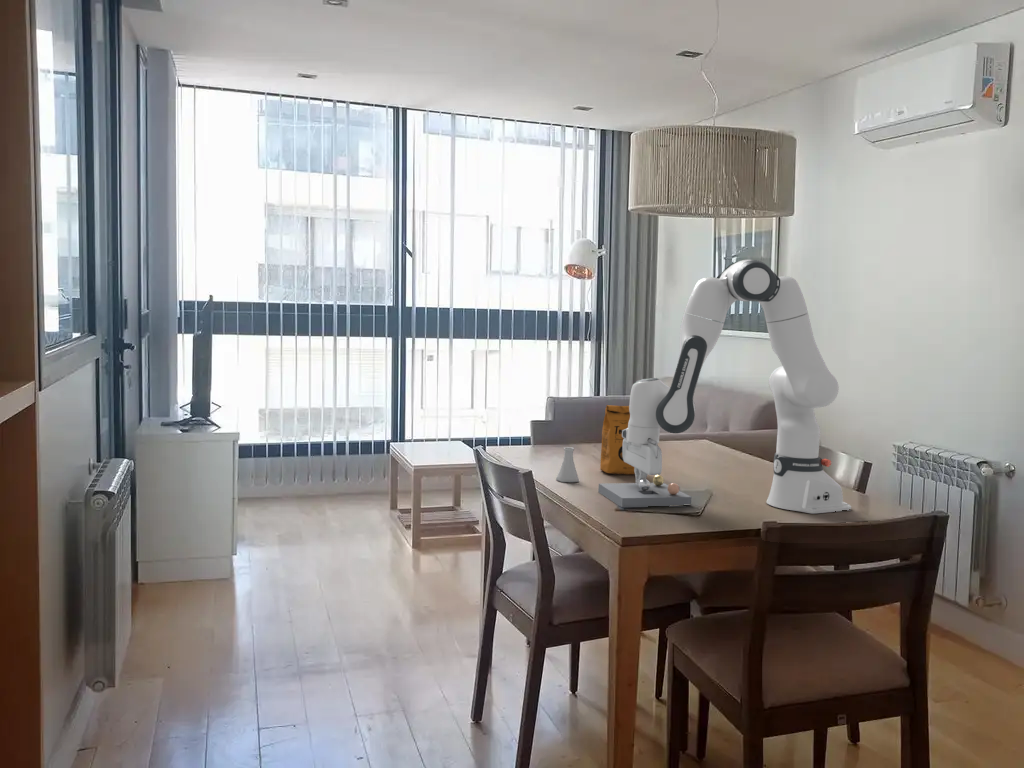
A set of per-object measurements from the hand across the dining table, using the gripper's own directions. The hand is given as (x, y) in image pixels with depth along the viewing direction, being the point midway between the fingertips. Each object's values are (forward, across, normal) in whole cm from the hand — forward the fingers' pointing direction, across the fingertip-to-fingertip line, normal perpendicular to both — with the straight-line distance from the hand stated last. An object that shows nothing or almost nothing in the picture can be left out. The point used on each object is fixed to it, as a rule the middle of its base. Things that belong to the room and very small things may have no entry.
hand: (640, 484), depth 233 cm
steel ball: (-1, -3, 0) cm, 3 cm away
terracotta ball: (-1, -8, -6) cm, 10 cm away
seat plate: (+4, -3, 0) cm, 4 cm away
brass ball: (-1, +2, -6) cm, 7 cm away
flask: (+4, +22, +14) cm, 27 cm away
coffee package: (+4, +32, -7) cm, 33 cm away
